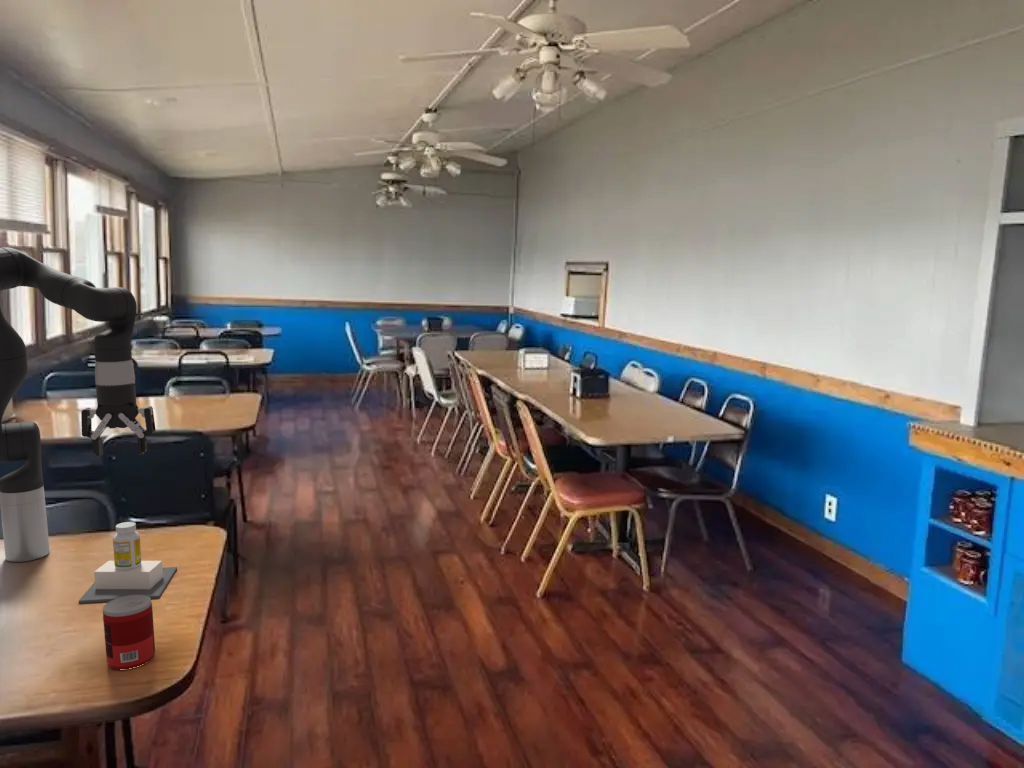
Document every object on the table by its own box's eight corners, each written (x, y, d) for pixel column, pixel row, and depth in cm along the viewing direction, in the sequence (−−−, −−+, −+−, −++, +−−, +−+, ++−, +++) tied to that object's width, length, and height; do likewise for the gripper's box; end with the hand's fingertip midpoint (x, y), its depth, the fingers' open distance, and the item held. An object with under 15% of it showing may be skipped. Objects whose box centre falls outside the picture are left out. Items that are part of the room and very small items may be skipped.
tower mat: (103, 573, 179) (103, 571, 179) (177, 569, 182) (176, 566, 182) (78, 603, 164) (78, 600, 164) (159, 598, 167) (158, 595, 166)
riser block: (110, 577, 176) (108, 560, 175) (163, 577, 176) (161, 560, 175) (95, 589, 169) (94, 571, 169) (150, 589, 170) (149, 571, 169)
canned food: (164, 655, 143) (161, 598, 141) (127, 675, 136) (122, 616, 134) (135, 646, 146) (131, 591, 144) (97, 665, 139) (92, 608, 137)
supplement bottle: (121, 572, 168) (118, 530, 167) (110, 566, 172) (107, 525, 170) (146, 565, 172) (143, 524, 171) (135, 559, 176) (132, 519, 174)
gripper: (72, 384, 161) (79, 460, 163) (145, 383, 163) (150, 457, 166) (85, 379, 168) (91, 451, 171) (155, 378, 171) (160, 449, 173)
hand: (120, 454), depth 168 cm, fingers open, 8 cm apart
